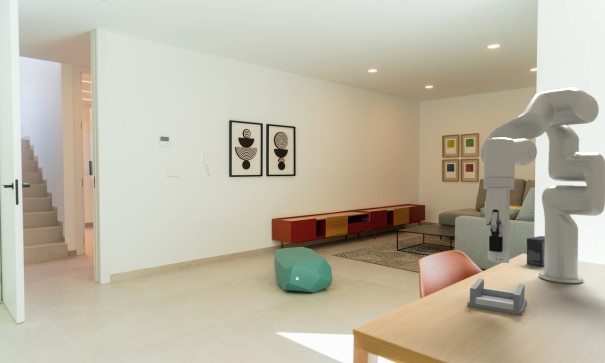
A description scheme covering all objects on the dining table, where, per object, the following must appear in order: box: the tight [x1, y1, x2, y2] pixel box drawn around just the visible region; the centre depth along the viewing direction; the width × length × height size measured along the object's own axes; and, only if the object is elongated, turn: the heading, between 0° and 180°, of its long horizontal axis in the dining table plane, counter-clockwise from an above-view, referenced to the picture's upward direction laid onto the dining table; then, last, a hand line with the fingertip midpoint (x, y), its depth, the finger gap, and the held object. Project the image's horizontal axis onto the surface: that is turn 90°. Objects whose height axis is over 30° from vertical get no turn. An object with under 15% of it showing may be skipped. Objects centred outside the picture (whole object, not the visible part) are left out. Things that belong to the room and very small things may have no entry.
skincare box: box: [487, 216, 511, 264], centre depth 111 cm, size 6×4×12 cm
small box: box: [526, 235, 545, 268], centre depth 161 cm, size 11×6×10 cm, turn 122°
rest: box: [467, 278, 528, 316], centre depth 111 cm, size 12×13×5 cm
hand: (498, 248), depth 111 cm, fingers closed on skincare box, 7 cm apart
